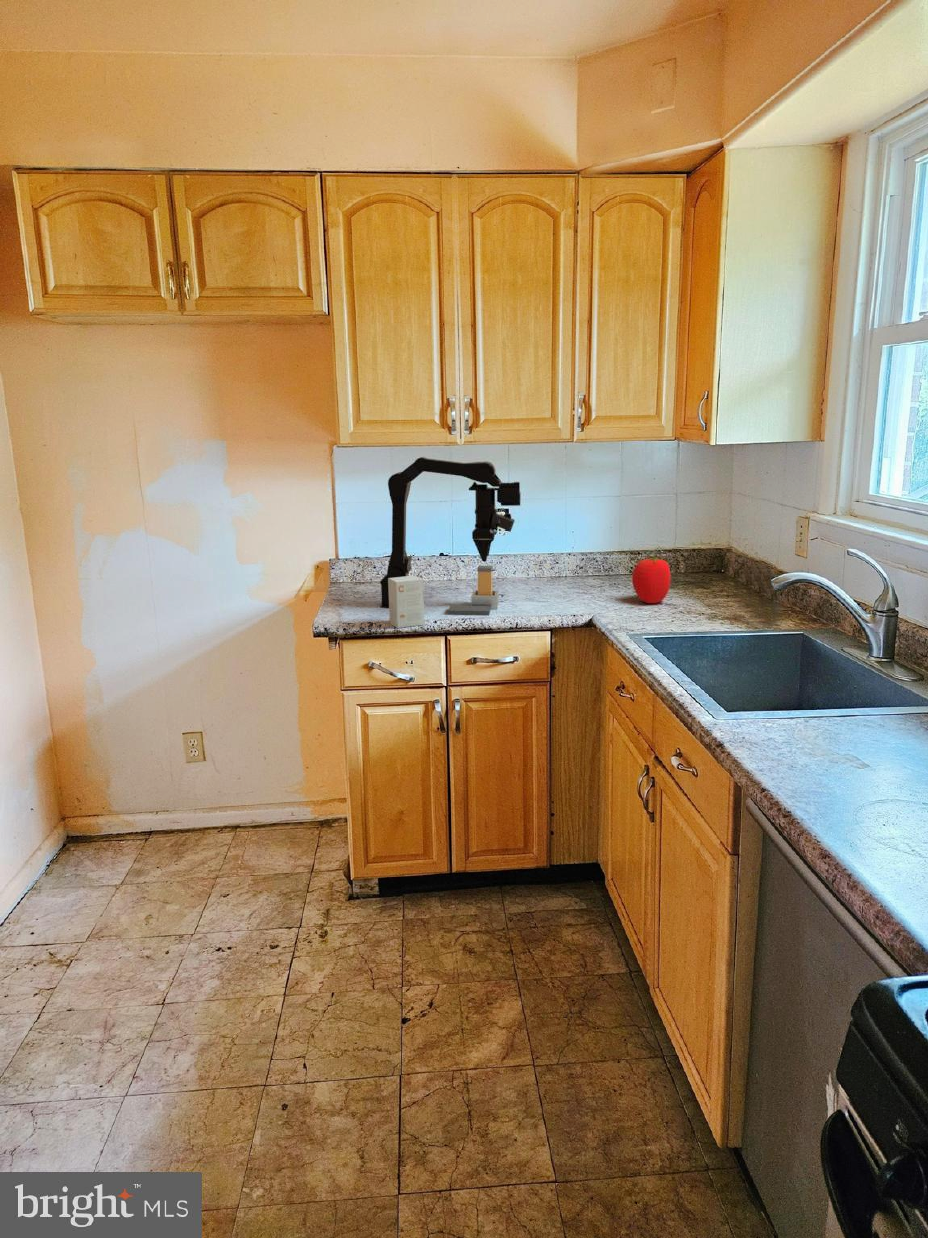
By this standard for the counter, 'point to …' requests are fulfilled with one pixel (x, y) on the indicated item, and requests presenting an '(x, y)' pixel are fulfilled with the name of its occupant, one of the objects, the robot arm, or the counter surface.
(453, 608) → the rubber mat
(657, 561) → the tomato
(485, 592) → the grey capped orange post
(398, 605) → the small box
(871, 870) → the counter surface
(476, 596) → the socket
